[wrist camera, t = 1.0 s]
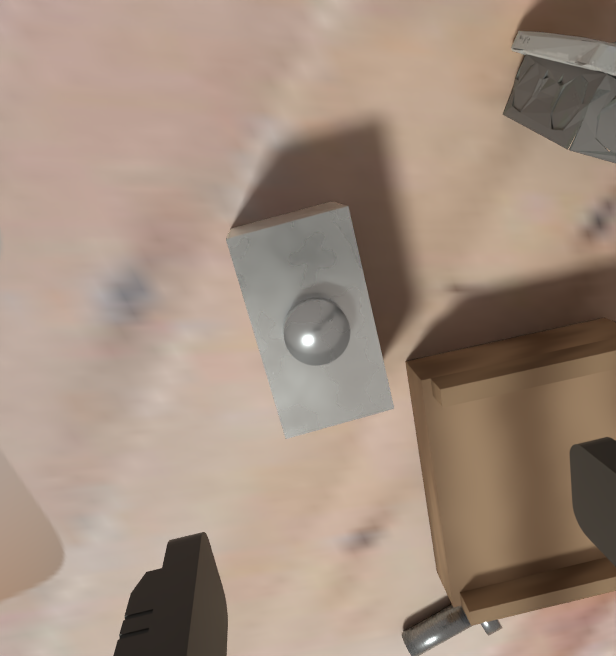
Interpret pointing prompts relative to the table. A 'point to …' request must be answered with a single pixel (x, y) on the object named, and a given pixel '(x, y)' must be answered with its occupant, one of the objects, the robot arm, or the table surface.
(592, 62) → the electrical switch
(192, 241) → the table surface
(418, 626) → the bolt
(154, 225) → the table surface
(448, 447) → the brown wooden tray
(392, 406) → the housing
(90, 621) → the table surface
